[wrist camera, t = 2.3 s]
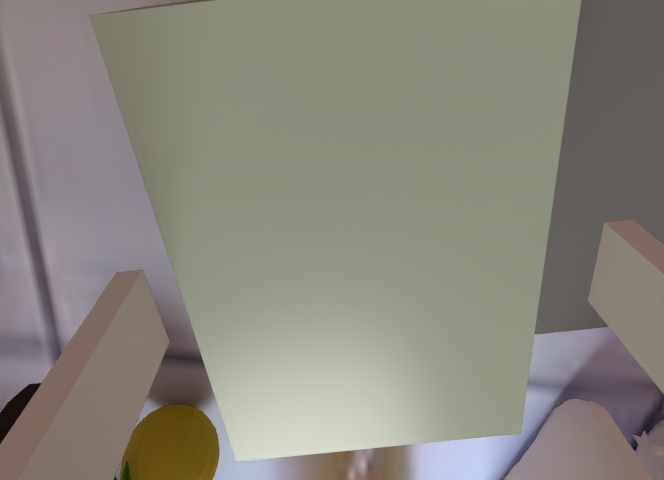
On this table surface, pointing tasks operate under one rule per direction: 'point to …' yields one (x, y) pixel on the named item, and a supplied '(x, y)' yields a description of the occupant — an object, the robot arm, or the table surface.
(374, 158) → the lid
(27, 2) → the table surface
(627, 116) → the mat
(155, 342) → the robot arm
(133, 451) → the lemon
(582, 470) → the cable organizer
